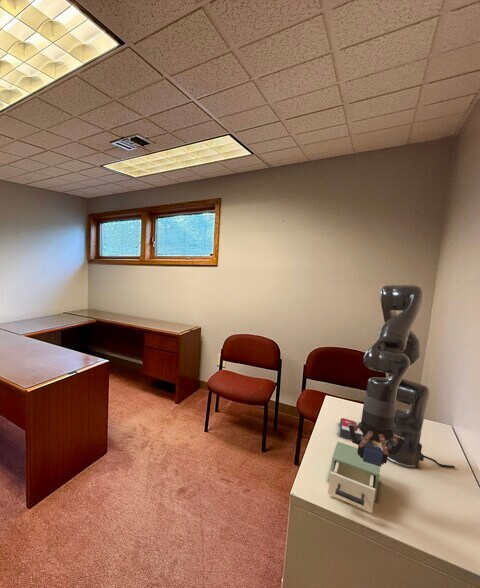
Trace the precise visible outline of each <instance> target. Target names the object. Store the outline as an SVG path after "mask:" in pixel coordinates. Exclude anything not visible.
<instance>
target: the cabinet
mask: <svg viewBox="0 0 480 588" xmlns="http://www.w3.org/2000/svg"><path fill="white" fill-rule="evenodd" d="M357 451H358V447H356V446H353V445H349V444H347V443H344V442H341V441H339V440H338V441H337V442H336V445H335V448H334V451H333V454H332V457H331V464H330V471H329V472H331V471H332V472H334V469H335V465H336V462H340V463H343V464H345V465H348V466H351V467H353V468H356V469H359V470H361V471H364V472H367V473H370V474H372V475H374V480H373V488H375V489H376V491H375V498H374V502H376V499H377V494H378V488H379V482H380V473H381V467H380V466H377V465H373V464H370V463H367V462H364V461H363V458H360V456H359V455H358V452H357ZM329 479H330V477H329ZM329 479H328V480H329Z"/></svg>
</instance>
